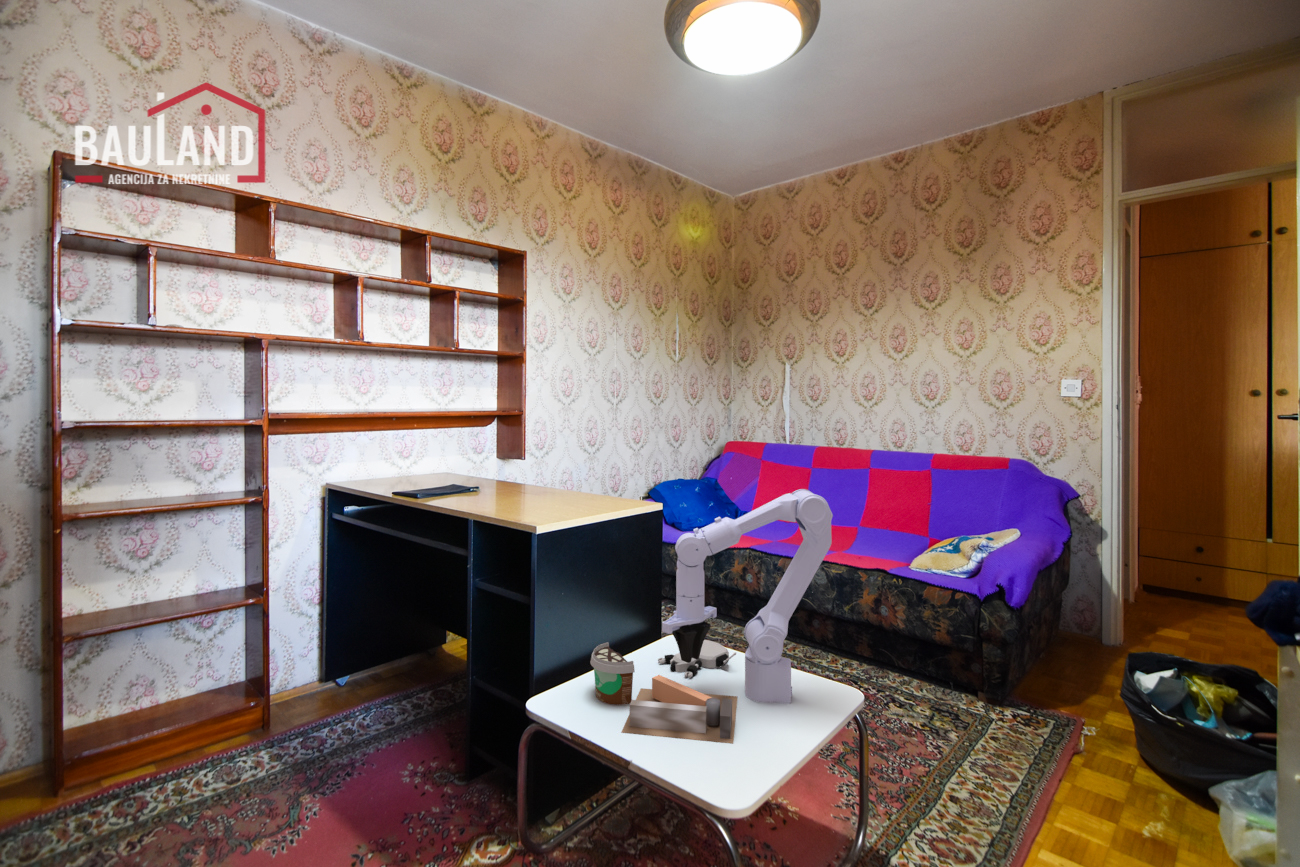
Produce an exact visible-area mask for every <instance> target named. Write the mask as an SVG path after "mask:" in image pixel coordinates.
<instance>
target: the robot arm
mask: <svg viewBox="0 0 1300 867" xmlns="http://www.w3.org/2000/svg"><path fill="white" fill-rule="evenodd" d="M833 517H834V515H833V512H832V510H831V508H830V506H829V503H828V501H827V500H826V499H825V498H824V497H823V496H821V495H818V494H815V493H813V492H812V491H810V490H809V489H807V488H800V489H797V490H795V491H792V492H789V493H785V494H782V495H781V496H779V497H777V498H774V499H773V500H771V501H769V502H767V503H764V504H763V505H761V506H759V507H757V508H755V509H753V510H751V511H749V512H747V513H745V514H743V515H741V516H739V517H737V518H735V519H733V518H730V517H728V516H725V517H723V518H722V517H721V516H718V517H716V518H714V521H713V522H711V523H710V524H708V525H706V526H704V527H701V528H698V527H696V528H693V532H686V533H683V534H682V535H680V536H679V537H678V539H676V540H677V541H676V543H675V545H674V548H675V553H676V555H677V561H676V568H677V569H676V571H675V572H676V574H675V576H676V578H675V579H676V581H675V587H676V590H675V592H676V597H675V598H676V599H675V602H676V604H675V606H676V608H675V610H673V615H672V616H670V617H669V618H668V619H666V620H664V621H662V622H661V632H663V633H664V634H668V635H671V634H672V635H673V637H674V639H675V642H676V644H677V647H678V651H679V653H680V656H681V660H682V661H685V662H687V663H690V662H691V660H692V658H694V659H699V656H700V652H701V648H702V645H703V641H704V640H706V637H707V635H708V633H709V631H710V630H711V624H710V623H709V622H706V620H707V619H711V618H712V619H715V618H717V607H714V606H711V605H708V606H705V570H704V562H705V560H706V558H707V556H713V555H716V554H717V553H719V552H721V551H724V550H726V549H728V548H730V547H733V546H735V545H736V544H739V543H740V539H741V537H742V535H743V534H746V533H749V532H752V531H753V530H756V529H759V528H762V527H764V526H766V525H768V524H771V523H773V522H777V521H785V522H790V523H791V522H792V523H797V525H798V527H799V530H800V533H801V536H802V538H803V539H802V542H800V543H801V544H800V545H799V547H798V548H797V551H796V553H795V554H794V555H793V558H792V559H791V561H790V563H789V565H788V566H787V569H786V570H785V572H784V574H783V575H782V578H780V581H779V582H778V585H777V586H776V588H775V590H774V592H773V594H772V595H771V596H770V598H769V600H768V602H767V604H766V605H765V606H764V607H762V608H761V609H760V610H759V611H758V612H757V614H756V615H755V616H754V617H752V618H751V619H750V620H749V621H748V622H747V623H746V624H745V627H744V629H743V630H744V637H745V639H746V642H747V643H748V644H749V645H748V647H747V648H746V651H745V654H744V694H745V697H746V698H747V699H749V700H750V701H753V702H757V703H763V704H764V703H765V704H767V703H778V704H780V703H781V704H792V697H793V686H792V661H791V658H789V657H784V656H782V654H783V650H784V643H785V639H786V637H788V636H787V635H788V628H789V621H790V619H791V617H792V616H793V613H794V612H795V610H796V609H797V607H798V606H799V603H800V602H801V600H802V598H803V597H804V595H805V592H806V591H807V588H809V585H810V584H811V582H812V580H813V578H814V577H815V574H816V573H817V571H818V570H819V568H820V566H821V564H822V563H823V561H824V559H825V557H826V555H827V553H828V552H829V550H830V548H831V546H832V544H833V541H832V540H833V539H832V519H833Z"/></svg>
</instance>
